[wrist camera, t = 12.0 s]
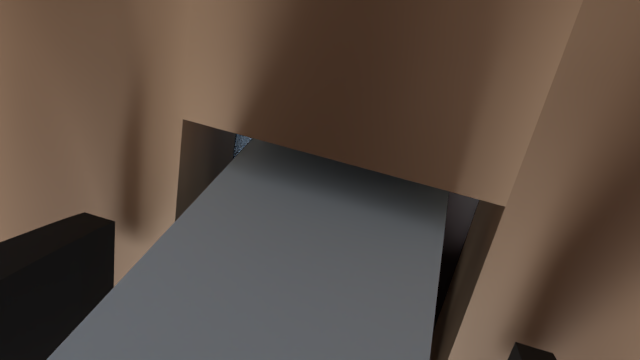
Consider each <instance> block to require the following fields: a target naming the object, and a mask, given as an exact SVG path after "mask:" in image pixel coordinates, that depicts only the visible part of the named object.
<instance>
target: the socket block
mask: <svg viewBox="0 0 640 360" xmlns="http://www.w3.org/2000/svg"><path fill="white" fill-rule="evenodd" d="M236 134H239V135H243V136H247V137H250V138H254V139H258V140H261V141H265V142H269V143H273V144H276V145H280V146H284V147H287V148H291V149H295V150H298V151H302V152H306V153H309V154H313V155H317V156H320V157H324V158H328V159H331V160H335V161H339V162H342V163H346V164H350V165H354V166H357V167H361V168H365V169H368V170H372V171H376V172H379V173H383V174H387V175H390V176H394V177H398V178H401V179H405V180H409V181H412V182H416V183H420V184H424V185H427V186H431V187H435V188H438V189H442V190H446V191H449V192H453V193H457V194H460V195H464V196H468V197H471V198H475V199H479V203H478V206H477V209H476V212H475V214H474V217H473V220H472V223H471V226H470V229H469V232H468V234H467V237H466V240H465V243H464V246H463V249H462V251H461V254H460V257H459V260H458V263H457V266H456V269H455V271H454V274H453V277H452V280H451V283H450V286H449V289H448V291H447V294H446V297H445V300H444V303H443V306H442V309H441V311H440V314H439V317H438V320H437V323H436V326H435V329H434V331H433V335H432V344H431V352H430V360H508V358H509V355H510V353H511V351H512V348H513V346H514V344H515V342H518V343H521V344H524V345H528V346H531V347H534V348H538V349H541V350H544V351H548V352H551V353H553V354H554V356H555V358H556V359H557V360H640V0H0V242H2V241H5V240H8V239H10V238H13V237H16V236H18V235H21V234H24V233H26V232H29V231H32V230H34V229H37V228H40V227H43V226H45V225H48V224H51V223H53V222H56V221H59V220H62V219H65V218H68V217H71V216H74V215H77V214H81V213H84V212H86V213H89V214H92V215H96V216H99V217H102V218H105V219H109V220H112V221H115V252H114V287H115V286H116V284H117V283H118V282H119V281H120V280H121V279H122V278H123V277H124V276H125V275H126V274H127V273H128V272H129V271H130V269H131V268H132V267H133V266H134V265H135V264H136V263H137V262H138V261H139V260H140V259H141V258H142V257H143V256H144V254H145V253H146V252H147V251H148V250H149V249H150V248H151V247H152V246H153V245H154V244H155V243H156V242H157V241H158V239H159V238H160V237H161V236H162V235H163V234H164V233H165V232H166V231H167V230H168V229H169V228H170V227H171V226H172V224H173V223H174V222H175V221H176V220H177V219H178V218H179V217H180V216H181V215H182V214H183V213H184V212H185V210H186V209H187V208H188V207H189V206H190V205H191V204H192V203H193V202H194V201H195V200H196V199H197V198H198V197H199V195H200V194H201V193H202V192H203V191H204V190H205V189H206V188H207V187H208V186H209V185H210V184H211V183H212V182H213V180H214V179H215V178H216V177H217V176H218V175H219V174H220V173H221V172H222V171H223V170H224V169H225V168H226V167H227V165H228V164H229V163H230V162H231V161H232V160H233V153H234V145H235V137H236Z"/></svg>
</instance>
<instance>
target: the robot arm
mask: <svg viewBox="0 0 640 360" xmlns="http://www.w3.org/2000/svg"><path fill="white" fill-rule="evenodd" d="M114 252H115V221H112V220H109V219H105V218H102V217H99V216H96V215H92V214H89V213H86V212H84V213H81V214H77V215H74V216H71V217H68V218H65V219H62V220H59V221H56V222H53V223H51V224H48V225H45V226H43V227H40V228H37V229H34V230H32V231H29V232H26V233H24V234H21V235H18V236H16V237H13V238H10V239H8V240H5V241H2V242H0V360H47V358H48V357H49V356H50V355H51V354H52V353H53V352H54V351H55V350H56V349H57V348H58V347H59V346H60V345H61V343H62V342H63V341H64V340H65V339H66V338H67V337H68V336H69V335H70V334H71V333H72V332H73V331H74V330H75V328H76V327H77V326H78V325H79V324H80V323H81V322H82V321H83V320H84V319H85V318H86V317H87V316H88V315H89V313H90V312H91V311H92V310H93V309H94V308H95V307H96V306H97V305H98V304H99V303H100V302H101V301H102V299H103V298H104V297H105V296H106V295H107V294H108V293H109V292H110V291H111V290H112V289H113V288H114ZM508 360H557V359H556V358H555V356H554V354H553V353H551V352H548V351H544V350H541V349H538V348H534V347H531V346H528V345H524V344H521V343H518V342H515V344H514V346H513V348H512V351H511V353H510V355H509V358H508Z"/></svg>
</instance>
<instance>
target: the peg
mask: <svg viewBox="0 0 640 360" xmlns="http://www.w3.org/2000/svg"><path fill="white" fill-rule="evenodd" d="M448 197H449V191H446V190H442V189H438V188H435V187H431V186H427V185H424V184H420V183H416V182H412V181H409V180H405V179H401V178H398V177H394V176H390V175H387V174H383V173H379V172H376V171H372V170H368V169H365V168H361V167H357V166H354V165H350V164H346V163H342V162H339V161H335V160H331V159H328V158H324V157H320V156H317V155H313V154H309V153H306V152H302V151H298V150H295V149H291V148H287V147H284V146H280V145H276V144H273V143H269V142H265V141H261V140H258V139H254V138H253V139H252V140H251V141H250V142H249V143H248V144H247V145H246V146H245V147H244V148H243V149H242V150H241V152H240V153H239V154H238V155H237V156H236V157H235V158H234V159H233V160H232V161H231V162H230V163H229V164H228V165H227V167H226V168H225V169H224V170H223V171H222V172H221V173H220V174H219V175H218V176H217V177H216V178H215V179H214V180H213V182H212V183H211V184H210V185H209V186H208V187H207V188H206V189H205V190H204V191H203V192H202V193H201V194H200V195H199V197H198V198H197V199H196V200H195V201H194V202H193V203H192V204H191V205H190V206H189V207H188V208H187V209H186V210H185V212H184V213H183V214H182V215H181V216H180V217H179V218H178V219H177V220H176V221H175V222H174V223H173V224H172V226H171V227H170V228H169V229H168V230H167V231H166V232H165V233H164V234H163V235H162V236H161V237H160V238H159V239H158V241H157V242H156V243H155V244H154V245H153V246H152V247H151V248H150V249H149V250H148V251H147V252H146V253H145V254H144V256H143V257H142V258H141V259H140V260H139V261H138V262H137V263H136V264H135V265H134V266H133V267H132V268H131V269H130V271H129V272H128V273H127V274H126V275H125V276H124V277H123V278H122V279H121V280H120V281H119V282H118V283H117V284H116V286H115V287H114V288H113V289H112V290H111V291H110V292H109V293H108V294H107V295H106V296H105V297H104V298H103V299H102V301H101V302H100V303H99V304H98V305H97V306H96V307H95V308H94V309H93V310H92V311H91V312H90V313H89V315H88V316H87V317H86V318H85V319H84V320H83V321H82V322H81V323H80V324H79V325H78V326H77V327H76V328H75V330H74V331H73V332H72V333H71V334H70V335H69V336H68V337H67V338H66V339H65V340H64V341H63V342H62V343H61V345H60V346H59V347H58V348H57V349H56V350H55V351H54V352H53V353H52V354H51V355H50V356H49V357H48V358H47V360H430V352H431V344H432V335H433V326H434V318H435V309H436V300H437V292H438V283H439V275H440V266H441V257H442V249H443V240H444V231H445V223H446V214H447V205H448Z"/></svg>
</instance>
